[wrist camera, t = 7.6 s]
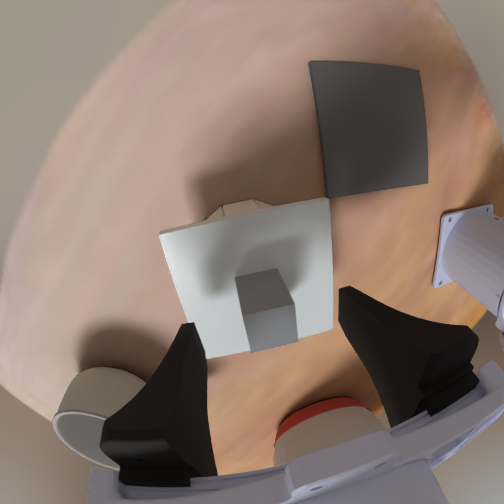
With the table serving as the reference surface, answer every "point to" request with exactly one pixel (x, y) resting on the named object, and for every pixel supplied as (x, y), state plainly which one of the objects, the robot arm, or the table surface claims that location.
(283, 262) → the lid
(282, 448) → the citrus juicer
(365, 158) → the mat
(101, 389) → the teacup
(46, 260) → the table surface
